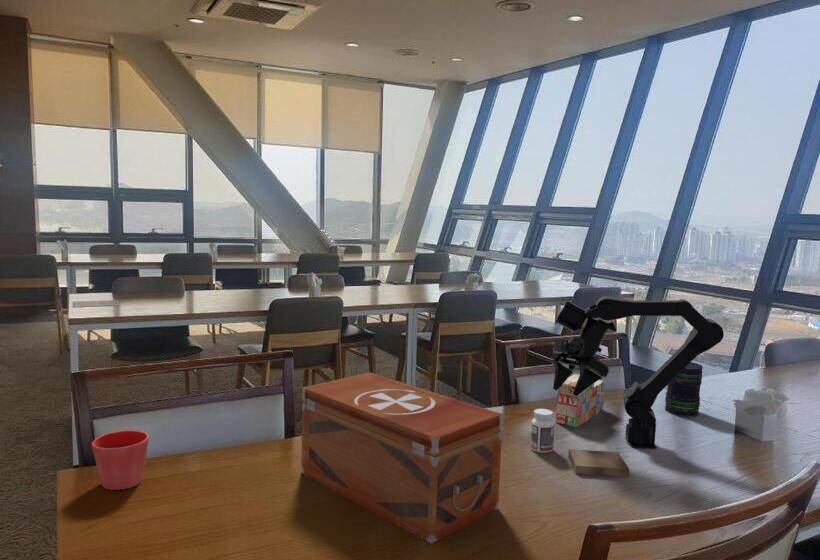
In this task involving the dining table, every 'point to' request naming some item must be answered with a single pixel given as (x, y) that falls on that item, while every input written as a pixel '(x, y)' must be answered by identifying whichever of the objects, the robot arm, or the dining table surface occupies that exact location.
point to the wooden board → (598, 463)
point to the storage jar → (685, 392)
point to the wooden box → (403, 452)
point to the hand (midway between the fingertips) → (564, 392)
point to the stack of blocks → (578, 402)
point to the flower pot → (120, 458)
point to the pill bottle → (542, 431)
